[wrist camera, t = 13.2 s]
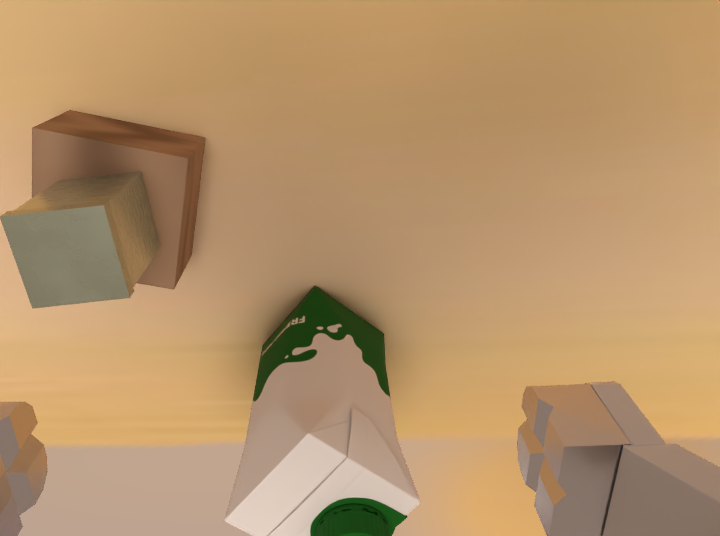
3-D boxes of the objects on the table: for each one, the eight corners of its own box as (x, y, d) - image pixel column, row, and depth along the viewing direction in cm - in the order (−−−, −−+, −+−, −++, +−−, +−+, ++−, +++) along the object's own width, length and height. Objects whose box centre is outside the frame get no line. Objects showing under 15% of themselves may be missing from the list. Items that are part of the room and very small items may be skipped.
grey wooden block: (142, 169, 37) (103, 205, 30) (162, 248, 39) (129, 297, 32) (57, 178, 37) (-1, 216, 30) (81, 257, 39) (32, 308, 32)
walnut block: (205, 137, 42) (188, 158, 37) (192, 253, 46) (174, 289, 40) (71, 109, 41) (32, 127, 35) (67, 232, 44) (31, 265, 39)
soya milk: (332, 401, 52) (336, 624, 34) (245, 346, 49) (197, 555, 31) (400, 331, 49) (444, 531, 31) (311, 268, 46) (303, 447, 28)
